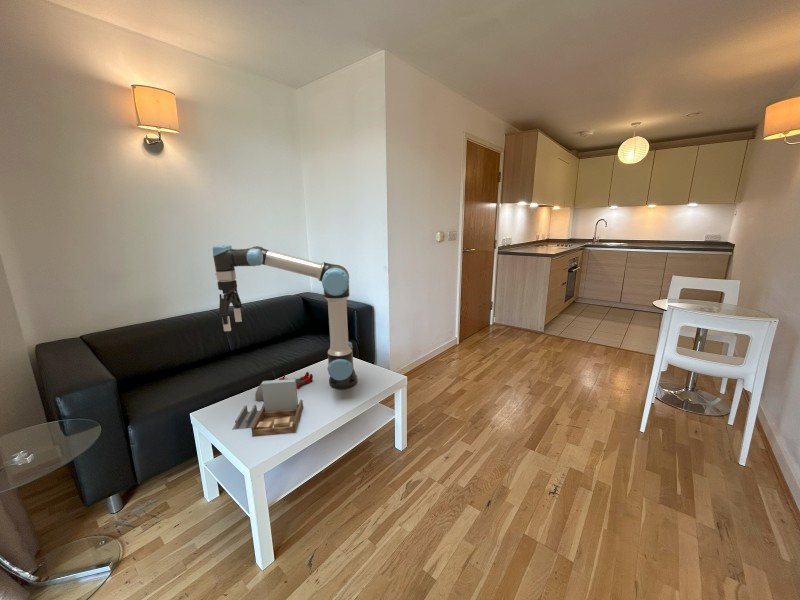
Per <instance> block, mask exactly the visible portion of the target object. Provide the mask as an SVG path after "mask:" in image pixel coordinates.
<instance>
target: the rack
mask: <svg viewBox="0 0 800 600" xmlns="http://www.w3.org/2000/svg"><path fill="white" fill-rule="evenodd" d="M303 401H304V400H303V399H300V400H299V401H298V408H297V409H296V410H284V411H271V412H265V408H264V403H263V404H262V407H261V408H260V410H259V411H260V412H259V414H258V416H257V418H256V420H255V422H254V423H253V425H252V427H251V428H250V429H251V436H252V437H262V436H263V437H264V436H274V435H284V434H285V435H286V434H287V435H288V434H296V433H297V430H298V426H299V423H300V419H301V415H302V413H303V410H304V403H303ZM288 417H290V422H293V423H292V426H289V427H278V428H266V429H257V428H256V427H257V425H258V424H259V422H272V427H273V425H274V421H275V419H281V418H288Z"/></svg>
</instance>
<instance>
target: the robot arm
mask: <svg viewBox="0 0 800 600" xmlns="http://www.w3.org/2000/svg"><path fill="white" fill-rule="evenodd" d="M212 257H213V263H214V269H215V276H216V280H217V288H218V290H219V291H222V293H219V309H218V311H219V312H218V317H219V318H221V319H222V325H223V331H224V332H231V331H232V327H231V319H230V316H229V313H230V312H229V310H230V306H231V305H230V304H232V306H233V314H234V320H235V323H240V322H243V320H242V319H243V318H242V312H241V309H242V308H243V305H242V301H241V298H240V296H239V293H238V284H237V283H238V282H237V280H236V279H237V275H236V267H237V268H238V267H256V266H262V265H263V266H267V267H272V268H276V269H279V270H284V271H288V272H292V273H296V274H298V275H299V274H300V275H303V276H308V277H311V278H315V279H318V281H319V282H321V284H322V285H321V286H322V288H323V298H324V299H325V300H327V306H328V307H327V309H328V326H329V327H328V328H329V340H330V341H329V342H330V343H329V344H330V346H329V349H328V350H327V359H328V360H327V361H328V362H327V363H328V364H327V365H328V366H327V372H328V373H327V374H328V375H329V379H328V383H329V384H328V385H329V386H330V388H332V389H336V390H345V389H350V388H353V387H355V386H356V384H357V383H358V376H357V374H356V371H355V369H354V354H353V348H354V347H353V343H352V342H351V341H349V329H348V326H349V325H348V309H347V308H348V307H347V306H348V305H347V299H348V298H349V297H350V275H349V271H348V270H347V269H346V267H344V266H342V265H340V264H334V263H330V262H329V263H328V262H324V261H323V262H322V263H321V262H318V261H317V262H316V261H313V260H309V259H307V258H306V259H305V258H301V257H298V256H295V255H294V256H293V255H290V254H286V253H281V252H277V251H275V250H274V251H273V250H271V249H266V248H264V247H262V246H259V245H258V246H257V245H256V246H253V247H249V248H239V249H238V248H236V249H234V248H233V247H232V245H231V244H216V245H214V246H213V247H212Z"/></svg>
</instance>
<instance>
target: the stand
mask: <svg viewBox="0 0 800 600" xmlns="http://www.w3.org/2000/svg"><path fill="white" fill-rule="evenodd" d="M257 408H258V407H257V404H254V405H253V406H252V408H251V410H250V411H248V405H244V406H243V408H242V410H241V411H240V413H239V414H238V416H237V418H236V419H235V422H234V423H235V424H234V425H233V427H232V429H231V430H232V431H233V430H244V429H251V427H252V425H253V423H254V422H255V420H256V418H257V416H258V414H259V412H260V410H258V409H257Z"/></svg>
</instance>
